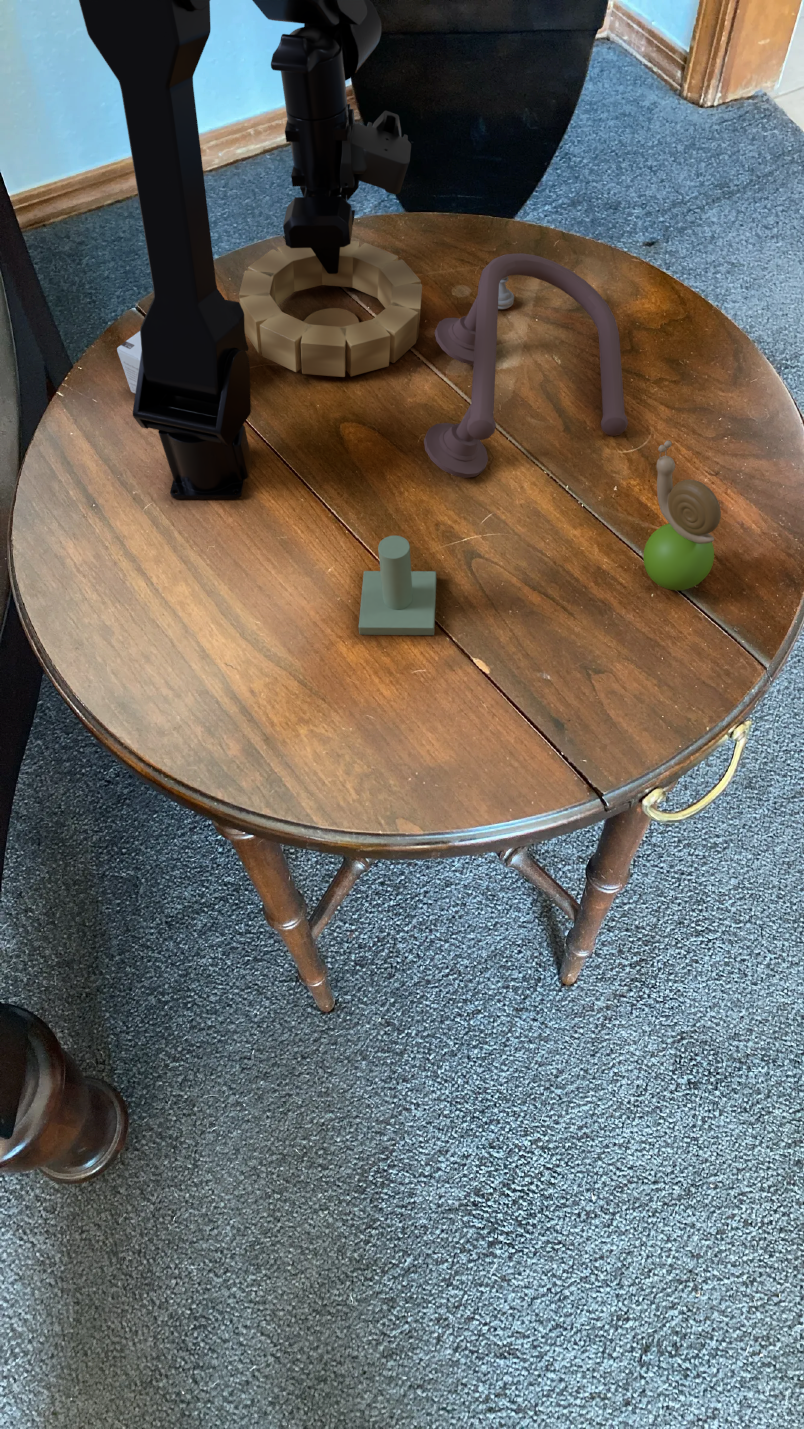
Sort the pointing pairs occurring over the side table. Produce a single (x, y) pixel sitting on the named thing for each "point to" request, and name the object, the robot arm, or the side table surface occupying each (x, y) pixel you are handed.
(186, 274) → the robot arm
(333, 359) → the birch ring
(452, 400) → the side table surface
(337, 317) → the cork coaster
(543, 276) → the toilet paper hanger
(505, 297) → the pawn
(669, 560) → the snail figurine
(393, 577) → the peg stand
